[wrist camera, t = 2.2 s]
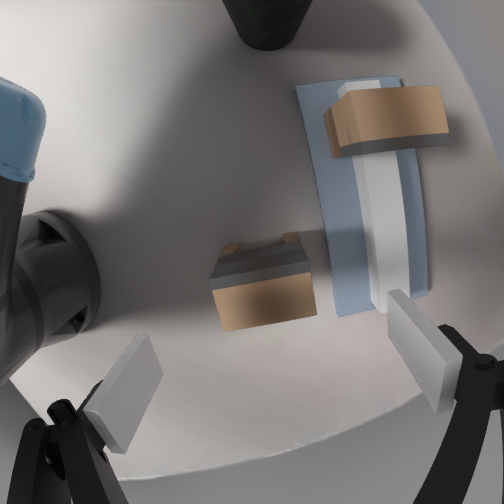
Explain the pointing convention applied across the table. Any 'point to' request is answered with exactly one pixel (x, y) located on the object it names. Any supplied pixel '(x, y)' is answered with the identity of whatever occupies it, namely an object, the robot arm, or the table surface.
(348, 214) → the rail
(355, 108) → the fixed jaw
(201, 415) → the table surface
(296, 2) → the cup
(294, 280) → the two-tone tabbed box
